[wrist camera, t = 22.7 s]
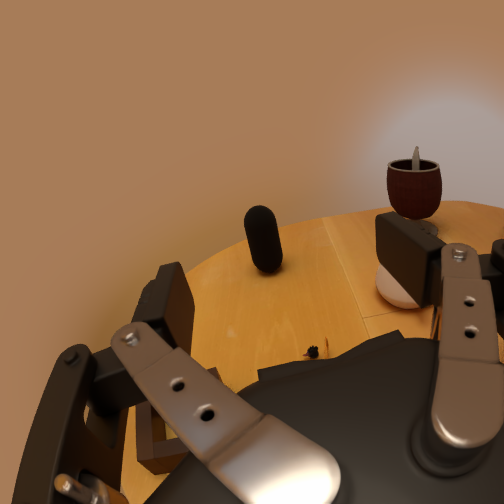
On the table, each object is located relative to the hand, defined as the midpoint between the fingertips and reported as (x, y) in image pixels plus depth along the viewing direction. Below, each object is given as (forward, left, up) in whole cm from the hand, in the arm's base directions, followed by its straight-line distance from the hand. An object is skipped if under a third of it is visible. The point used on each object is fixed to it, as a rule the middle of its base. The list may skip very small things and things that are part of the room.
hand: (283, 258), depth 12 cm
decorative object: (+46, -10, -28) cm, 55 cm away
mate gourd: (+41, -48, -28) cm, 69 cm away
